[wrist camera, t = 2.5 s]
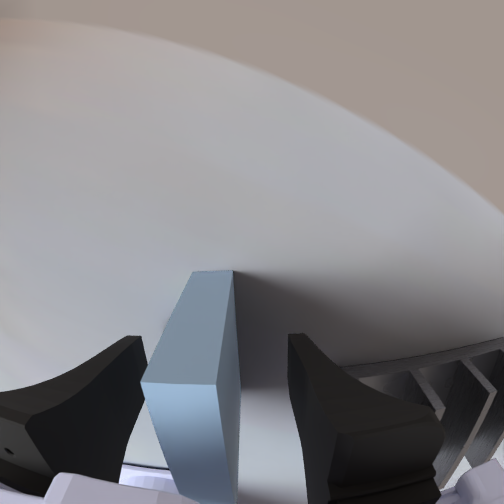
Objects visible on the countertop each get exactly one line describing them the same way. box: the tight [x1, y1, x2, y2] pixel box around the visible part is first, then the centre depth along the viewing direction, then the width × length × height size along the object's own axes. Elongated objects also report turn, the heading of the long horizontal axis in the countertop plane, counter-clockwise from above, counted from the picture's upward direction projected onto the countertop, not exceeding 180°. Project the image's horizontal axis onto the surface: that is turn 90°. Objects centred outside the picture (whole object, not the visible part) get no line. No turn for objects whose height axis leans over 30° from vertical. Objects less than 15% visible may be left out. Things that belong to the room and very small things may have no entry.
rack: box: [340, 337, 504, 489], centre depth 13 cm, size 8×11×4 cm
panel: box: [140, 270, 241, 504], centre depth 10 cm, size 6×2×7 cm, turn 2°
